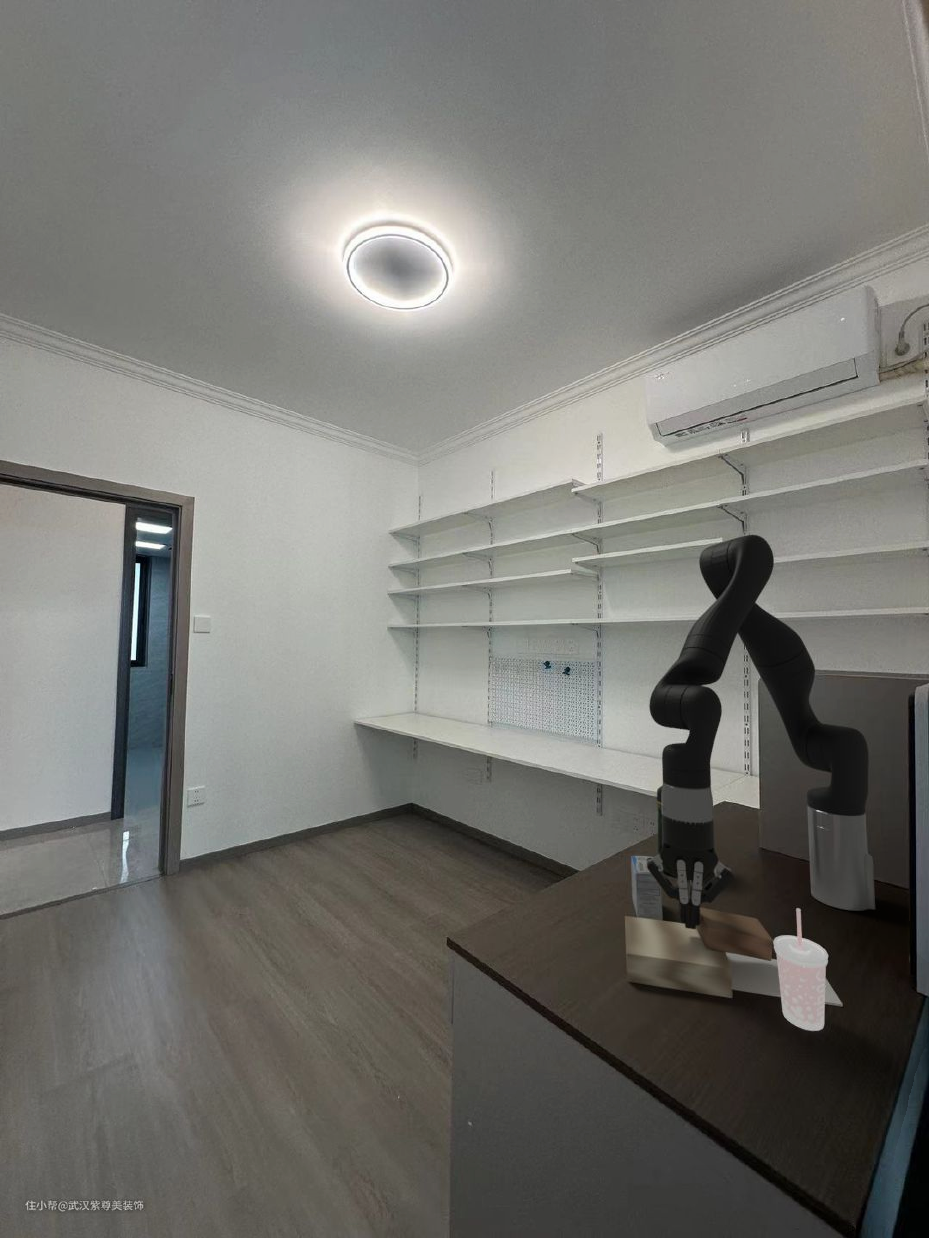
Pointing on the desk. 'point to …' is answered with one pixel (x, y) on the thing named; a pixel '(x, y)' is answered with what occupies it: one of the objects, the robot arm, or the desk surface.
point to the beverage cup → (801, 979)
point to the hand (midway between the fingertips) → (689, 925)
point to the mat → (764, 977)
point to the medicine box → (645, 890)
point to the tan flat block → (674, 958)
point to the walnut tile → (734, 934)
